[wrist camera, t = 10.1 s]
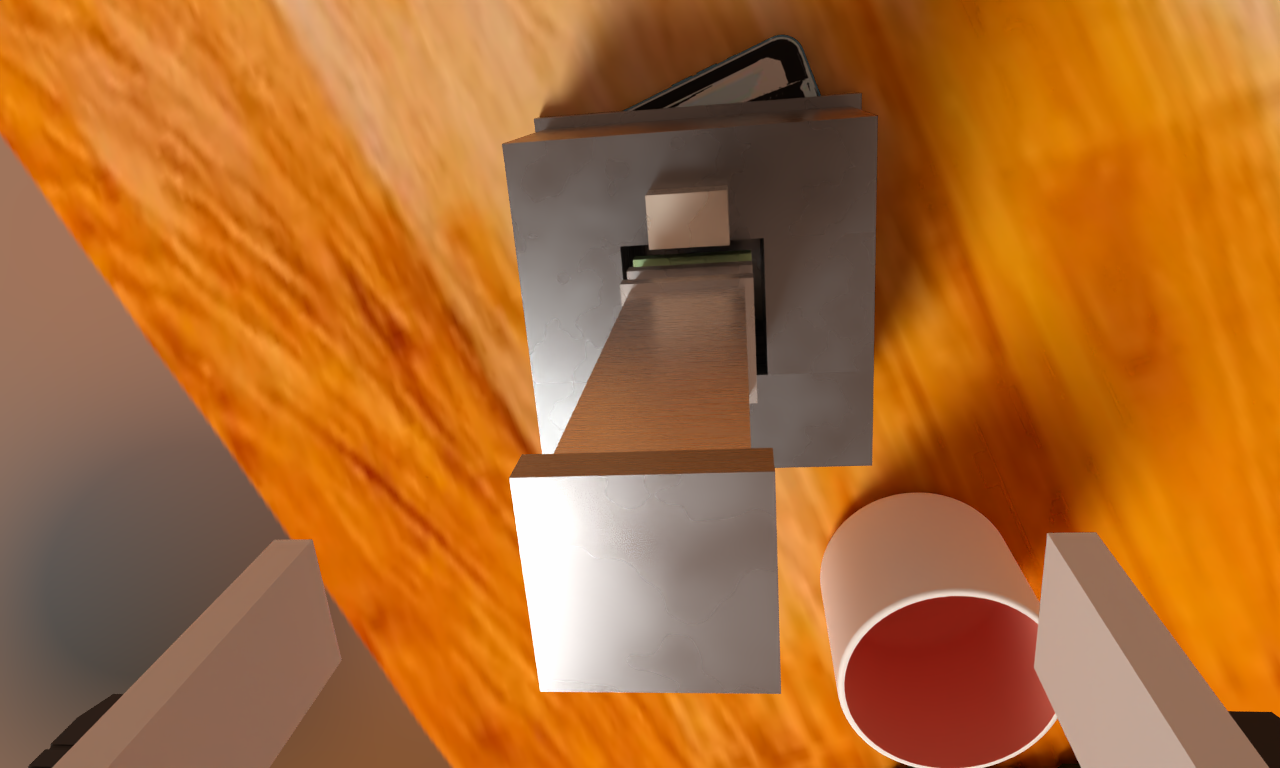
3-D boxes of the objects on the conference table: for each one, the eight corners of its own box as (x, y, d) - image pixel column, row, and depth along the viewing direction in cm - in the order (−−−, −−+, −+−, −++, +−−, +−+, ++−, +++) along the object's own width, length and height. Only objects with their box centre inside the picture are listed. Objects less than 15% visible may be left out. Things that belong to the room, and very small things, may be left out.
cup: (934, 448, 45) (986, 548, 35) (1040, 578, 47) (1116, 706, 37) (781, 548, 48) (792, 665, 38) (887, 667, 50) (922, 805, 40)
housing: (538, 117, 41) (476, 134, 31) (858, 92, 39) (899, 101, 29) (571, 407, 46) (527, 500, 36) (855, 397, 44) (890, 492, 34)
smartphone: (504, 168, 42) (793, 25, 38) (509, 166, 43) (792, 25, 39) (571, 302, 44) (853, 179, 40) (574, 298, 45) (851, 177, 41)
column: (635, 247, 35) (509, 478, 16) (752, 240, 35) (774, 471, 15) (644, 358, 37) (540, 691, 17) (756, 353, 36) (781, 693, 17)
